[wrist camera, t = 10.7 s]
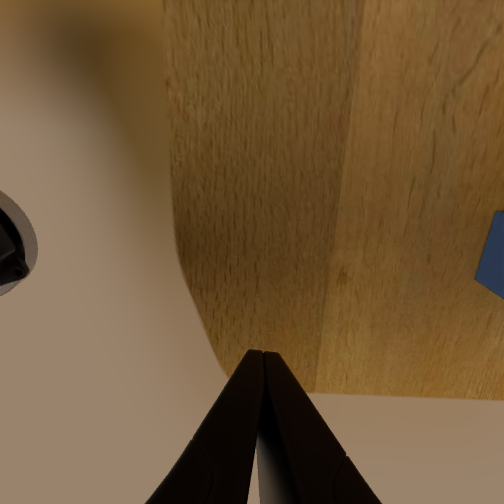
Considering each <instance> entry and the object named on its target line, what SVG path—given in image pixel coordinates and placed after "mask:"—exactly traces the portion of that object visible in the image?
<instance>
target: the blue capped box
mask: <svg viewBox="0 0 504 504" xmlns="http://www.w3.org/2000/svg"><path fill="white" fill-rule="evenodd" d="M475 280H476V281H478V282H479V283H481V284H482V285H484V286H485V287H487V288H488V289H489V290H491V291H492V292H494V293H495V294H497V295H498V296H500V297H501V298H503V299H504V211H496V213H495V216H494V219H493V222H492V225H491V229H490V232H489V235H488V238H487V241H486V244H485V248H484V251H483V254H482V257H481V260H480V264H479V267H478V270H477V273H476V276H475Z"/></svg>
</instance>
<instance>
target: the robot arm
mask: <svg viewBox="0 0 504 504" xmlns="http://www.w3.org/2000/svg"><path fill="white" fill-rule="evenodd" d="M18 269H20V270H21V271H22V273H20V272H19V271H18ZM29 273H30V269H29V267H28V265H27V264H26V262H25V261H24V259H23V258H22V256H21V255H20V253H19V251H18V250H17V248H16V247H15V245H14V244H13V242H12V241H11V239H10V237H9V236H8V234H7V233H6V231H5V230H4V228H3V227H2V225H1V223H0V286H2V285H5V284H8V283H12V282H15V281H18V280H21V279H23V278H25V277H26V276H28V275H29ZM255 448H256V449H257V464H258V480H259V496H260V504H382V503H381V502H380V500H379V499H378V498H377V496H376V495H375V494H374V493H373V491H372V490H371V488H370V487H369V485H368V484H367V483H366V482H365V480H364V479H363V477H362V476H361V474H360V473H359V471H358V470H357V468H356V467H355V465H354V464H353V462H352V461H351V460H350V458H349V457H348V456H346V452H345V451H344V449H343V448H342V446H341V445H340V443H339V442H338V441H337V439H336V438H335V436H334V434H333V433H332V432H331V430H330V428H329V427H328V425H327V424H326V422H325V421H324V420H323V418H322V417H321V415H320V414H319V412H318V411H317V409H316V408H315V406H314V405H313V403H312V402H311V400H310V399H309V397H308V396H307V394H306V393H305V391H304V390H303V388H302V387H301V385H300V384H299V382H298V381H297V379H296V378H295V376H294V375H293V373H292V372H291V370H290V369H289V367H288V366H287V364H286V363H285V362H284V360H283V359H282V357H281V356H280V354H279V353H277V352H269V351H265V352H264V353H263V352H262V351H261V350H252V349H249V350H248V351H247V352H246V354H245V355H244V357H243V359H242V360H241V362H240V363H239V365H238V366H237V368H236V370H235V371H234V373H233V374H232V376H231V378H230V379H229V381H228V382H227V384H226V385H225V387H224V389H223V390H222V392H221V393H220V395H219V396H218V398H217V400H216V401H215V403H214V404H213V406H212V408H211V409H210V411H209V412H208V414H207V415H206V417H205V419H204V420H203V422H202V423H201V425H200V427H199V428H198V430H197V431H196V433H195V434H194V436H193V439H192V440H190V442H189V444H188V445H187V447H186V448H185V450H184V451H183V453H182V454H181V456H180V457H179V459H178V460H177V462H176V463H175V465H174V466H173V468H172V469H171V471H170V472H169V473H168V475H167V476H166V477H165V479H164V480H163V481H162V482H161V484H160V485H159V486H158V488H157V489H156V490H155V491H154V493H153V494H152V495H151V497H150V498H149V499H148V500H147V501H146V503H145V504H247V500H248V494H249V487H250V481H251V474H252V468H253V461H254V455H255Z"/></svg>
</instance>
